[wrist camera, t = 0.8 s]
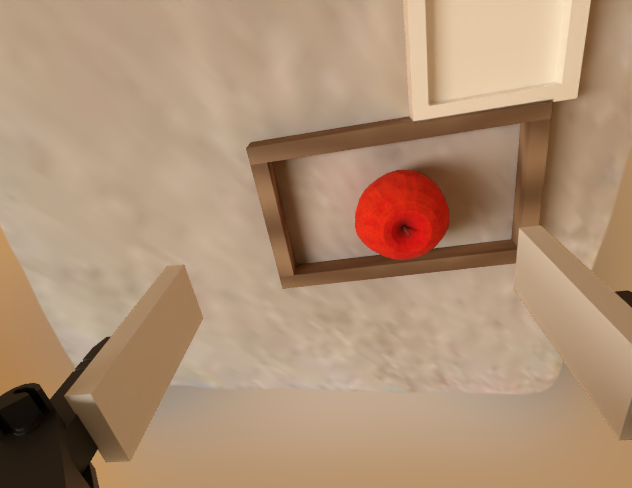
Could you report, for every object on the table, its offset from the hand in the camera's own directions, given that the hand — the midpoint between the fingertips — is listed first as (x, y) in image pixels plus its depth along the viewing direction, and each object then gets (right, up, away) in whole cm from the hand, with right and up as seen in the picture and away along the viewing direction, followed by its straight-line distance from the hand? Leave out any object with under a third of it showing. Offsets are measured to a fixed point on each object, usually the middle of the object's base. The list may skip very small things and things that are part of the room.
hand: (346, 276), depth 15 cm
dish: (+12, +18, +14) cm, 26 cm away
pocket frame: (+6, +6, +22) cm, 23 cm away
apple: (+6, +6, +22) cm, 23 cm away
